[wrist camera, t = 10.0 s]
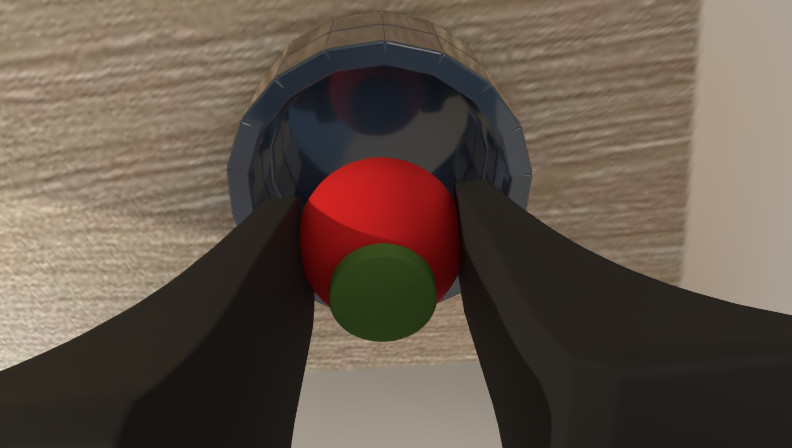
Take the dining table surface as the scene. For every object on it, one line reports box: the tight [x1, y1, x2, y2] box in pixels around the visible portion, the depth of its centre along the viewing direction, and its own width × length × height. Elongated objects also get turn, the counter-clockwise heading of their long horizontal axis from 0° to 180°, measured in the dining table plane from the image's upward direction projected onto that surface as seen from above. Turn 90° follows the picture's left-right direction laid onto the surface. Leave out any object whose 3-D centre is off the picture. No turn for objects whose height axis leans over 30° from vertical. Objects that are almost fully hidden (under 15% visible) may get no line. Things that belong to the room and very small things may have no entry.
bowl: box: [227, 11, 532, 307], centre depth 15 cm, size 7×7×4 cm
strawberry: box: [300, 157, 461, 342], centre depth 11 cm, size 3×3×4 cm
